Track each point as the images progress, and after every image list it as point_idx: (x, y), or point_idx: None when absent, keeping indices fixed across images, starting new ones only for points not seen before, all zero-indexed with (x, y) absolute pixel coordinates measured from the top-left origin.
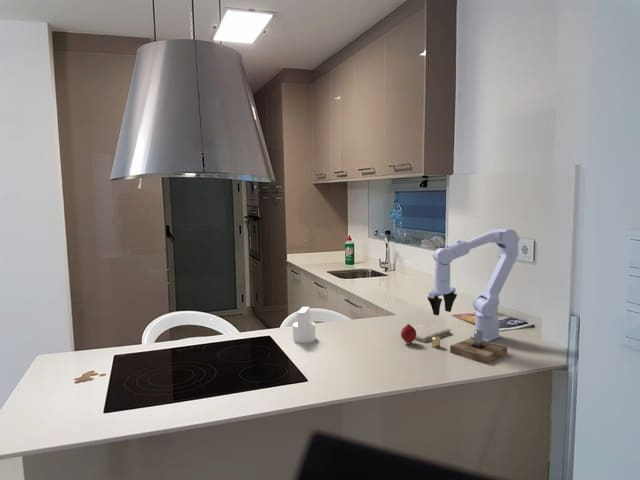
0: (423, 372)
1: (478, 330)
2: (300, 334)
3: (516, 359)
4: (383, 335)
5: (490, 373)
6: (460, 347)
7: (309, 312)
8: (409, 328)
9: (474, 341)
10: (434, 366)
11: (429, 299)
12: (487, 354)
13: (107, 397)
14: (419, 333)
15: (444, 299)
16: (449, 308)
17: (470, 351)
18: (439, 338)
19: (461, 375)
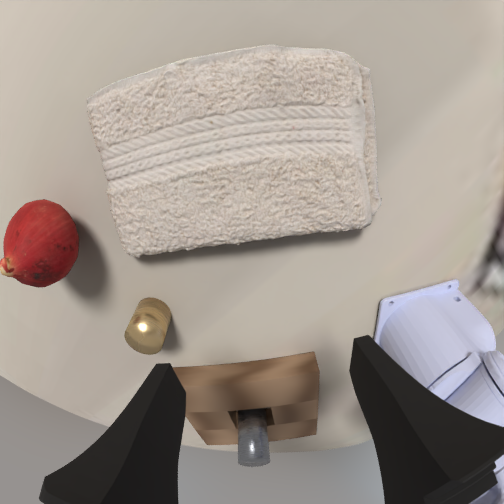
0: (54, 385)
1: (263, 459)
2: None
3: None
4: (38, 73)
5: (181, 443)
6: (189, 405)
7: None
8: (18, 280)
9: (238, 431)
10: (83, 386)
11: (64, 486)
12: (222, 443)
13: None
14: (134, 196)
15: (411, 429)
16: (359, 394)
17: (195, 425)
18: (153, 352)
19: None
